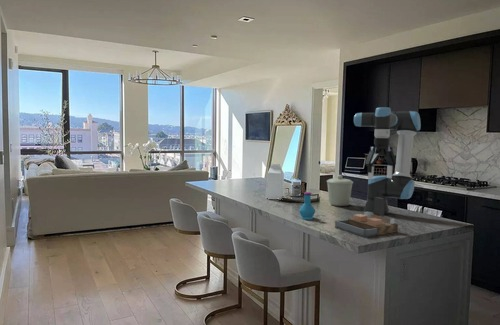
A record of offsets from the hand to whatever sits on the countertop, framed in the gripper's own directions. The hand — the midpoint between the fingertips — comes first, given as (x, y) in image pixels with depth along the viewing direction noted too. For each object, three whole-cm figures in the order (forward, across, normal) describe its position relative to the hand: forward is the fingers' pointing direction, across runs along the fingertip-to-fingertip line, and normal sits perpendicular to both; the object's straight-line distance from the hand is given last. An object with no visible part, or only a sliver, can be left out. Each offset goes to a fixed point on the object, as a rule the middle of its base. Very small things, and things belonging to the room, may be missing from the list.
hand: (380, 178), depth 198 cm
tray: (+26, -16, 0) cm, 31 cm away
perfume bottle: (+26, -20, +35) cm, 48 cm away
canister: (+26, +25, +58) cm, 69 cm away
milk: (+26, -2, +98) cm, 102 cm away
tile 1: (+22, -8, +5) cm, 24 cm away
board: (+26, -4, 0) cm, 27 cm away
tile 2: (+22, -8, -5) cm, 24 cm away
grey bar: (+22, 0, 0) cm, 22 cm away
